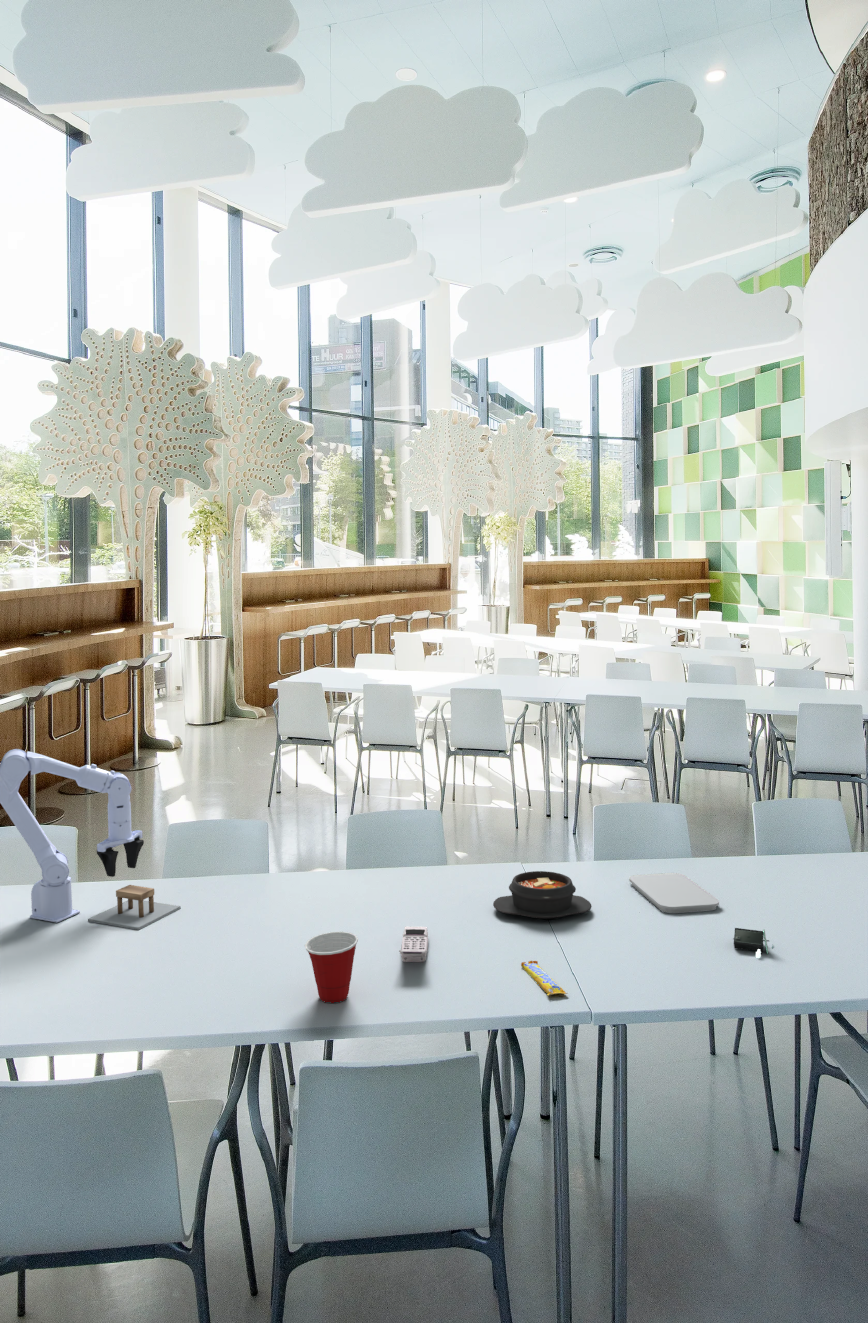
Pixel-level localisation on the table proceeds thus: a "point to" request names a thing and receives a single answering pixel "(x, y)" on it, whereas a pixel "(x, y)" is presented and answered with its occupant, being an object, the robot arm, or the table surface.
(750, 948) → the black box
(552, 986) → the candy bar
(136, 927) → the mat
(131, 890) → the stool
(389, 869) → the table surface
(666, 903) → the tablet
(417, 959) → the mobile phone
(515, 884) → the casserole
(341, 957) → the plastic cup
